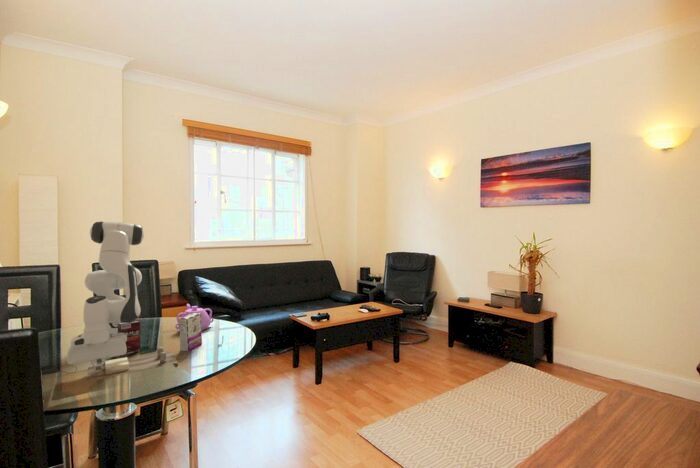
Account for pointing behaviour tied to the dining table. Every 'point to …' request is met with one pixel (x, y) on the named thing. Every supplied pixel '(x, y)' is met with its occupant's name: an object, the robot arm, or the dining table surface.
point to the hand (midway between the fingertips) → (98, 369)
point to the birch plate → (116, 365)
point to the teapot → (204, 316)
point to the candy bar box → (190, 331)
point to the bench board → (136, 365)
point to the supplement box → (131, 335)
